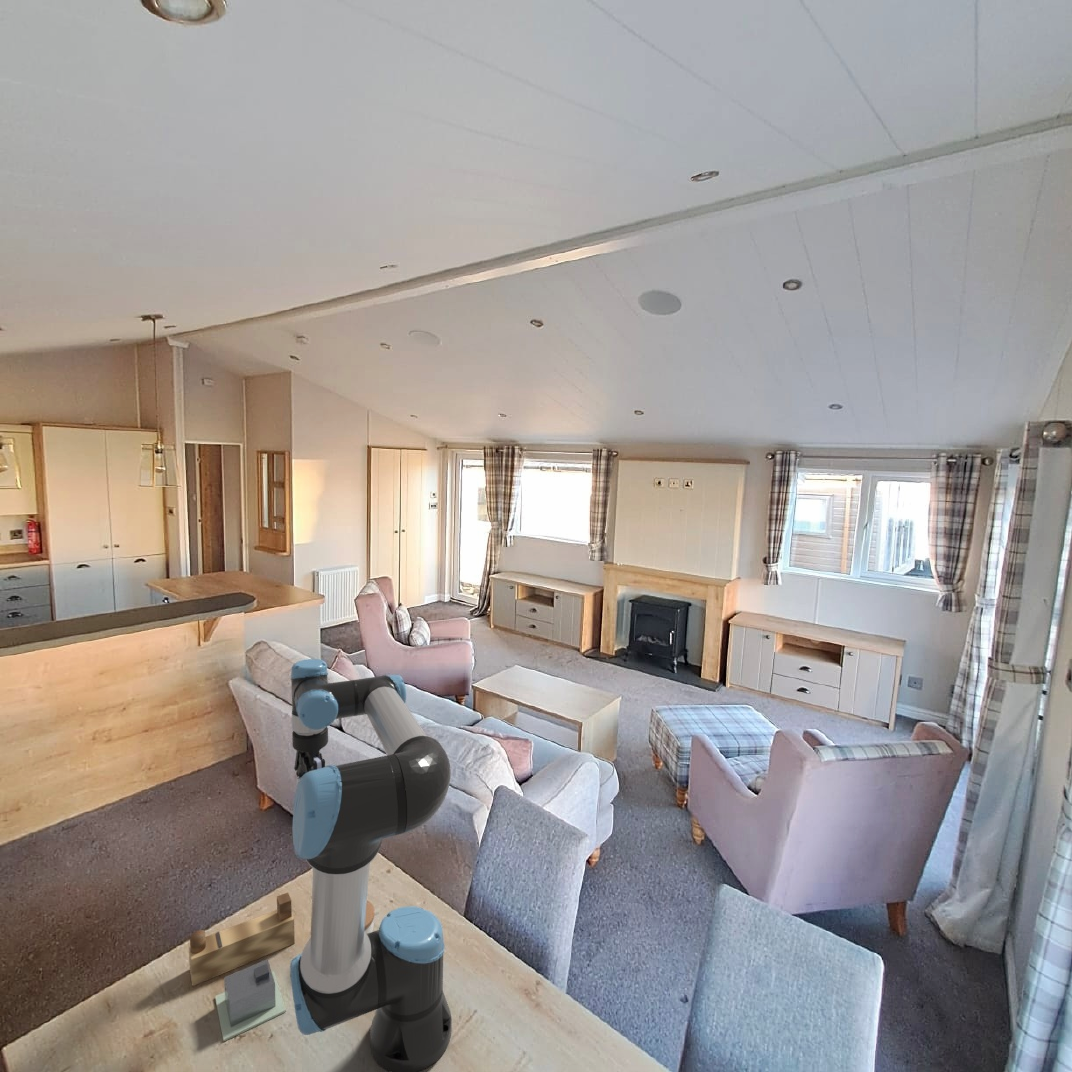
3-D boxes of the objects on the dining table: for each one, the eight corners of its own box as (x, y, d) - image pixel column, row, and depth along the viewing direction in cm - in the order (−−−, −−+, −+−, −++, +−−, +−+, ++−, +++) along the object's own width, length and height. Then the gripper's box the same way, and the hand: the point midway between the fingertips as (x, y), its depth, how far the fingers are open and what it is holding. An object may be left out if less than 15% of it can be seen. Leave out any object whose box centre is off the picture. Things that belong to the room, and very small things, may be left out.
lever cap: (275, 1006, 117) (274, 978, 117) (230, 1027, 113) (229, 998, 112) (268, 980, 123) (267, 954, 122) (224, 1000, 118) (224, 972, 118)
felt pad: (286, 1011, 117) (286, 1009, 117) (223, 1041, 110) (223, 1039, 110) (273, 972, 126) (273, 970, 126) (215, 997, 119) (215, 996, 119)
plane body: (289, 929, 137) (288, 889, 136) (294, 943, 133) (293, 902, 132) (189, 969, 126) (187, 926, 125) (192, 986, 122) (190, 941, 121)
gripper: (344, 746, 125) (345, 840, 128) (312, 706, 146) (313, 787, 148) (307, 755, 121) (309, 852, 124) (279, 712, 141) (281, 796, 144)
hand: (311, 817), depth 136 cm, fingers open, 13 cm apart
